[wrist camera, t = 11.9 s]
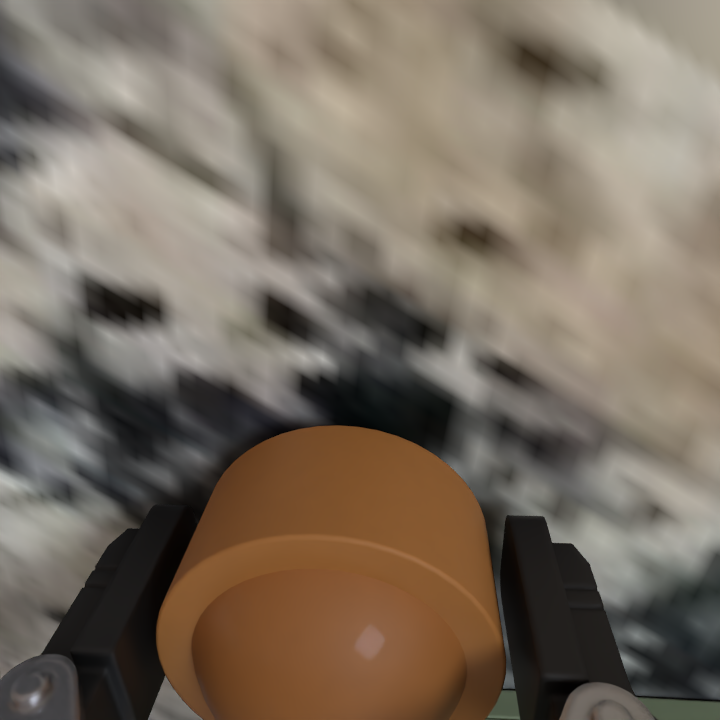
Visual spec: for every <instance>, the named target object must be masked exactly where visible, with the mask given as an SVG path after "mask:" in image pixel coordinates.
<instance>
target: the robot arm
mask: <svg viewBox="0 0 720 720" xmlns="http://www.w3.org/2000/svg"><path fill="white" fill-rule="evenodd" d="M196 528H197V524H196V519H195V515H194V511H193V508H192V507H191V506H189V505H154V506H153V507H152V508H151V510H150V511H149V513H148V515H147V516H146V518H145V520H144V522H143V523H142V525H141V527H140V529H132V528H128V529H127V530H126V531H125V532H124V533H122V534H121V535H120V536H119V537H118V538H117V539H115V540H114V541H113V542H112V543H111V544H110V545H109V546H108V547H107V548H106V550H105V552H104V553H103V555H102V557H101V558H100V560H99V561H98V563H97V565H96V566H95V571H92V573H91V574H90V576H89V578H88V579H87V581H86V583H85V587H84V588H82V589H81V591H80V592H79V594H78V596H77V597H76V599H75V600H74V602H73V604H72V605H71V607H70V609H69V610H68V612H67V614H66V615H65V617H64V618H63V620H62V622H61V623H60V625H59V627H58V628H57V630H56V631H55V633H54V635H53V636H52V638H51V640H50V641H49V643H48V644H47V646H46V648H45V649H44V651H43V652H42V654H41V655H40V656H36V657H33V658H31V659H28V660H26V661H24V662H22V663H21V664H19V665H17V666H16V667H14V668H13V669H11V670H10V671H9V672H8V673H7V674H6V675H4V676H3V678H2V679H1V680H0V720H148V717H149V715H150V712H151V710H152V707H153V705H154V702H155V700H156V697H157V695H158V692H159V690H160V687H161V685H162V682H163V680H164V677H165V673H164V671H163V668H162V665H161V663H160V660H159V656H158V651H157V646H156V624H157V619H158V614H159V610H160V608H161V606H162V603H163V601H164V599H165V596H166V594H167V592H168V590H169V588H170V585H171V583H172V581H173V579H174V576H175V574H176V572H177V570H178V568H179V565H180V563H181V561H182V559H183V557H184V554H185V552H186V550H187V548H188V546H189V543H190V541H191V539H192V537H193V534H194V532H195V530H196ZM500 585H501V598H502V605H503V612H504V618H505V625H506V631H507V638H508V644H509V650H510V657H511V663H512V670H513V676H514V683H515V689H516V696H517V702H518V709H519V715H520V720H658V719H656V718H655V717H654V716H653V715H652V714H651V712H650V711H649V710H648V708H647V707H646V706H645V705H644V704H643V703H642V702H641V701H640V700H639V699H638V698H637V697H636V695H635V694H634V692H633V690H632V688H631V686H630V683H629V681H628V678H627V675H626V672H625V669H624V666H623V663H622V660H621V657H620V654H619V651H618V648H617V645H616V642H615V639H614V636H613V633H612V630H611V627H610V624H609V621H608V618H607V615H606V612H605V611H604V609H603V603H602V600H601V597H600V594H599V592H598V591H597V585H596V582H595V579H594V576H593V573H592V570H591V567H590V564H589V563H588V562H587V561H586V559H585V558H584V557H583V556H582V555H581V554H580V552H579V551H578V550H577V549H576V548H575V547H574V545H573V544H566V543H552V541H551V538H550V534H549V530H548V527H547V523H546V520H545V518H544V517H543V516H510V515H508V516H507V517H506V520H505V529H504V539H503V549H502V559H501V570H500Z"/></svg>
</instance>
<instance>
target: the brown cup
mask: <svg viewBox="0 0 720 720" xmlns="http://www.w3.org/2000/svg"><path fill="white" fill-rule="evenodd" d="M156 646H157V651H158V656H159V660H160V663H161V665H162V668H163V671H164V673H165V675H166V677H167V678H168V680H169V682H170V684H171V685H172V687H173V688H174V690H175V691H176V692H177V694H178V695H179V696H180V697H181V699H182V700H183V701H184V702H185V703H186V704H187V705H188V706H189V707H190V708H191V709H192V710H193V711H194V712H195V713H196V714H197V715H199V716H200V717H201V718H202V719H204V720H485V719H486V718H487V717H488V715H489V714H490V712H491V711H492V709H493V708H494V707H495V705H496V703H497V701H498V698H499V696H500V694H501V691H502V688H503V684H504V680H505V675H506V654H505V648H504V641H503V634H502V628H501V621H500V614H499V607H498V601H497V594H496V587H495V581H494V574H493V567H492V561H491V554H490V547H489V541H488V534H487V528H486V523H485V519H484V516H483V513H482V510H481V508H480V505H479V503H478V501H477V500H476V498H475V496H474V494H473V493H472V491H471V490H470V488H469V487H468V486H467V485H466V483H465V482H464V481H463V479H462V478H461V477H460V476H459V475H458V474H457V473H456V472H455V471H454V470H453V469H452V468H451V467H450V466H449V465H448V464H446V463H445V462H444V461H442V460H441V459H440V458H438V457H437V456H436V455H434V454H433V453H431V452H429V451H428V450H426V449H424V448H422V447H421V446H419V445H417V444H415V443H413V442H410V441H408V440H406V439H403V438H401V437H399V436H396V435H392V434H389V433H386V432H382V431H379V430H374V429H368V428H363V427H355V426H341V425H332V426H315V427H309V428H302V429H297V430H293V431H290V432H286V433H283V434H280V435H277V436H275V437H272V438H270V439H268V440H265V441H263V442H261V443H260V444H258V445H256V446H255V447H253V448H251V449H249V450H248V451H246V452H245V453H244V454H243V455H241V456H240V457H239V458H238V459H236V460H235V461H234V462H233V463H232V464H231V465H230V467H229V468H228V469H227V470H226V471H225V472H224V473H223V475H222V476H221V478H220V479H219V481H218V483H217V484H216V486H215V488H214V490H213V493H212V495H211V497H210V499H209V501H208V504H207V506H206V508H205V510H204V512H203V515H202V517H201V519H200V521H199V523H198V526H197V528H196V530H195V532H194V534H193V537H192V539H191V541H190V543H189V546H188V548H187V550H186V552H185V554H184V557H183V559H182V561H181V563H180V565H179V568H178V570H177V572H176V574H175V576H174V579H173V581H172V583H171V585H170V588H169V590H168V592H167V594H166V596H165V599H164V601H163V603H162V606H161V608H160V610H159V614H158V619H157V624H156Z"/></svg>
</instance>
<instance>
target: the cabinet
mask: <svg viewBox="0 0 720 720" xmlns="http://www.w3.org/2000/svg"><path fill="white" fill-rule="evenodd" d="M637 698H638V699H639V700H640V701H641V702H642V703H643V704H644V705H645V706H646V707H647V708H648V710H649V711H650V712H651V714H652V715H653V716H654V717H655V718H656V719H658V720H720V702H718V701H700V700H681V699H662V698H643V697H637ZM485 720H520V715H519V709H518V702H517V696H516V691H512V690H502V691H501V694H500V696H499V698H498V701H497V703H496V705H495V707H494V708H493V709H492V711H491V712H490V714H489V715H488V717H487V718H486V719H485Z"/></svg>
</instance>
